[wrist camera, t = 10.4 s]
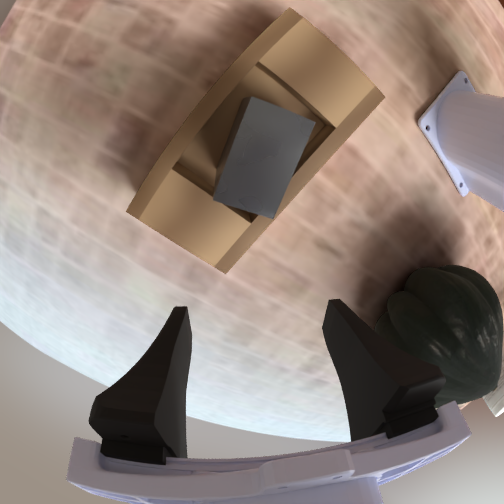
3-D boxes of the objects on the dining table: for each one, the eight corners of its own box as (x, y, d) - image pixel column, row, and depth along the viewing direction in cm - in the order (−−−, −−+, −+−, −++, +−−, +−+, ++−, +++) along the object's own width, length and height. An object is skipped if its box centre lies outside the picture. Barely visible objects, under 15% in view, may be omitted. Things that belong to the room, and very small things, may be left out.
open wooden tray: (364, 95, 17) (385, 97, 14) (225, 252, 22) (225, 274, 20) (280, 20, 14) (289, 7, 11) (138, 195, 19) (125, 211, 17)
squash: (325, 365, 23) (426, 463, 16) (444, 228, 17) (550, 349, 11) (360, 327, 34) (431, 397, 28) (434, 237, 29) (509, 315, 23)
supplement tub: (452, 365, 38) (486, 425, 26) (461, 336, 34) (504, 404, 21) (489, 340, 37) (524, 393, 24) (500, 308, 32) (545, 367, 20)
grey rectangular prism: (287, 114, 16) (315, 122, 11) (259, 183, 19) (273, 219, 13) (243, 98, 16) (251, 96, 10) (216, 169, 18) (212, 200, 13)
